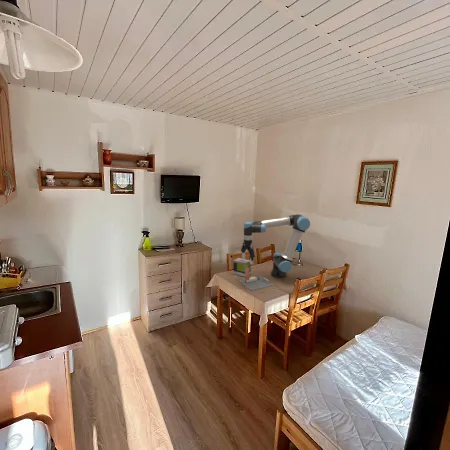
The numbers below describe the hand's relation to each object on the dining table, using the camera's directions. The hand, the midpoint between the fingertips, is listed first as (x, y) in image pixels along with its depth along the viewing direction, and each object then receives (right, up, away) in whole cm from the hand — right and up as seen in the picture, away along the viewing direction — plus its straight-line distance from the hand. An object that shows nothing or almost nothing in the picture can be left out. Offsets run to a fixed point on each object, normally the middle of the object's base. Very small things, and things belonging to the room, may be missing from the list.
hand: (247, 261), depth 231 cm
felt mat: (+8, -20, +3) cm, 22 cm away
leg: (+3, -19, +6) cm, 20 cm away
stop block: (+18, -20, +4) cm, 27 cm away
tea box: (-4, -16, +24) cm, 29 cm away
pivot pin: (+11, -19, +10) cm, 24 cm away
